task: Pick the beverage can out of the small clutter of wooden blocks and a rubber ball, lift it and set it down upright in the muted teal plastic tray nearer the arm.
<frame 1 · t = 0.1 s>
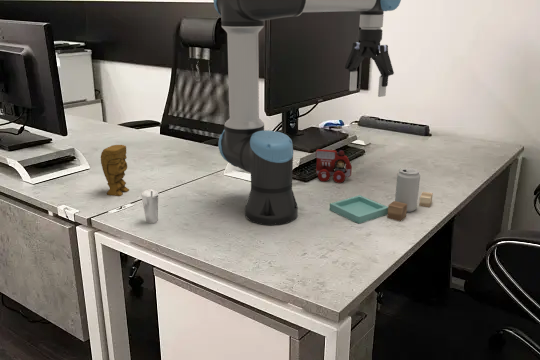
hand: (366, 93, 178), 28 cm above the table, fingers open, 13 cm apart
beech block: (425, 204, 158), on the table
toy fire truck: (332, 179, 179), on the table
walnut block: (396, 217, 148), on the table
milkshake: (152, 222, 145), on the table
figurine: (117, 193, 167), on the table
tray: (358, 211, 152), on the table
beverage can: (405, 209, 154), on the table
black rubber ball: (405, 190, 163), point 2 cm above the table
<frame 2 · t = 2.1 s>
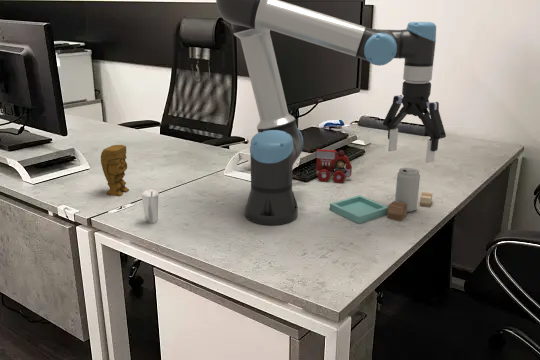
hand: (410, 156, 149), 16 cm above the table, fingers open, 13 cm apart
nothing on the table moved.
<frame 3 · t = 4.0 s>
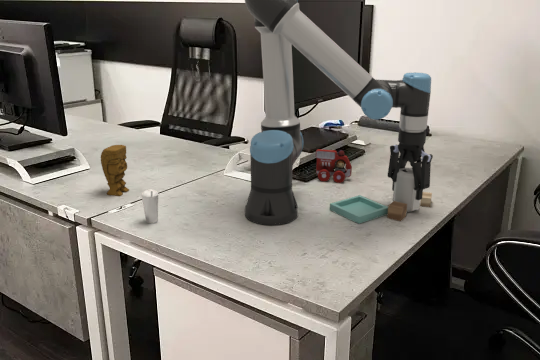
hand: (405, 205, 154), 1 cm above the table, fingers closed on beverage can, 6 cm apart
beverage can: (405, 209, 154), on the table, touching gripper
everything else where it was.
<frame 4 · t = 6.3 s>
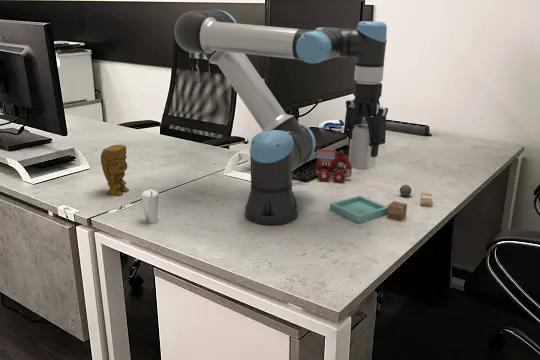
hand: (361, 163, 147), 15 cm above the table, fingers closed on beverage can, 6 cm apart
beverage can: (361, 167, 148), point 13 cm above the table, touching gripper
everything else where it was.
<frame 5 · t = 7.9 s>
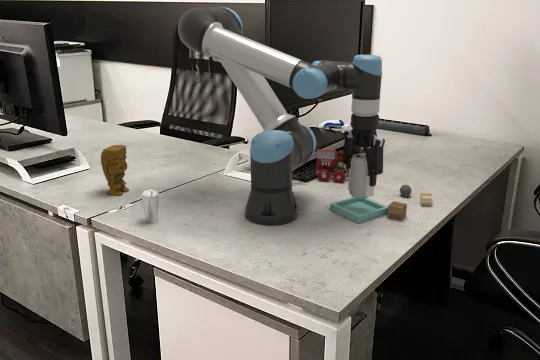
hand: (360, 192, 150), 6 cm above the table, fingers closed on beverage can, 6 cm apart
beverage can: (360, 196, 150), point 5 cm above the table, touching gripper
everything else where it was.
when the fingers open (3 cm above the table, at t = 8.9 s): beverage can drops 1 cm, resting on tray.
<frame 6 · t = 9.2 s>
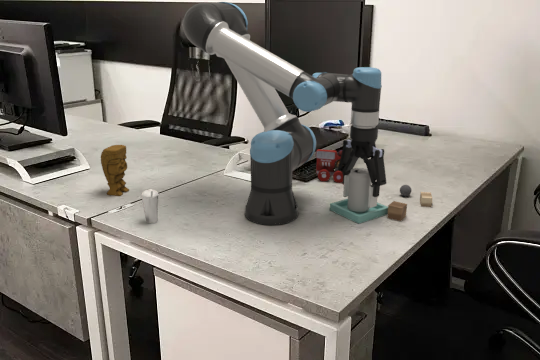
hand: (359, 201, 151), 3 cm above the table, fingers open, 9 cm apart
beverage can: (358, 210, 152), resting on tray
everything else where it was.
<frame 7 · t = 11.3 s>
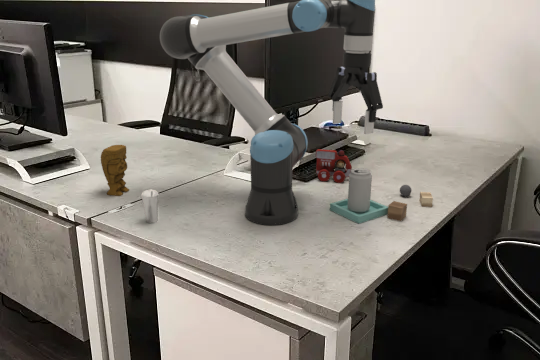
hand: (352, 128, 148), 24 cm above the table, fingers open, 13 cm apart
nothing on the table moved.
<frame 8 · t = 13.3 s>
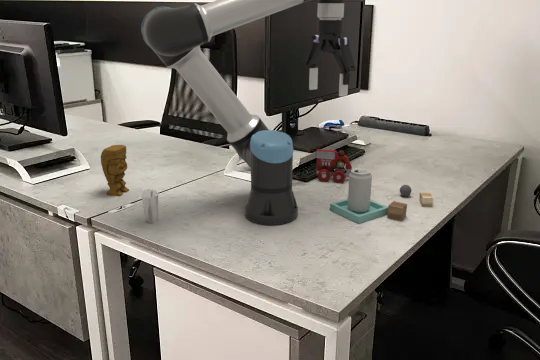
hand: (327, 92, 158), 32 cm above the table, fingers open, 13 cm apart
nothing on the table moved.
at the end: beverage can touching tray; beverage can tilted 0°; beverage can moved 14.5 cm from its start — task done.
